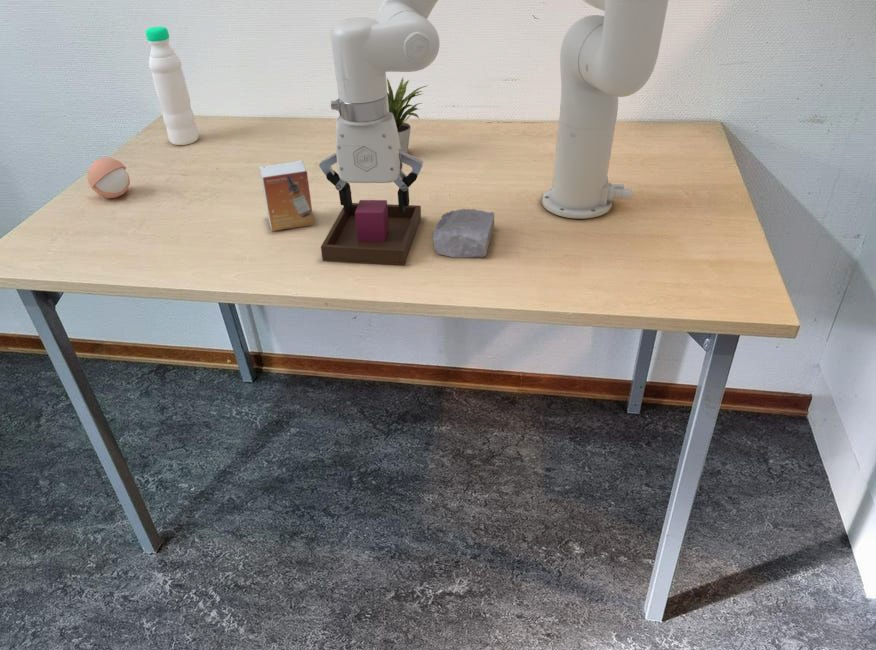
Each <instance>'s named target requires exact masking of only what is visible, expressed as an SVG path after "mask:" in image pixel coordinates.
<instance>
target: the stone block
mask: <svg viewBox="0 0 876 650" xmlns="http://www.w3.org/2000/svg"><path fill="white" fill-rule="evenodd" d="M494 226H495V212H494V211H491V212H490V211H484V210H480V209H475V208H473V209H471V208H461V209H457V210H450V211H449V212H445V213H444V214H442V215H441V219H439V220H438V222H437V223H436V225H435V227H434V230H433V232H432V238H433V239H432V240H433V247H434V249H435V251H436V252H437V253H438V255H442V256H446V257H449V258H453V259H454V258H469V259H470V258H471V259H472V258H481V259H482V258H485V257H486V256H487V254H488V251H489V246H490V242H491V239H492V235H493V230H494Z"/></svg>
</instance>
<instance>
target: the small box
mask: <svg viewBox="0 0 876 650" xmlns="http://www.w3.org/2000/svg"><path fill="white" fill-rule="evenodd" d="M258 169H259V174H260V180H261V186H262V192H263V197H264V203H265V209H266V214H267V220H268V222H269V227H270V230H271V232H276V231H279V230H286V229H295V228H300V227H310V226H314V224H315V222H314V212H313V207H312V206H313V205H312V199H311V191H310V185H309V178H308V171H307V169H306V166H305V164H304V162H303V160H302V159H300V160H295V161H290V162H284V163H283V162H282V163H275V164H270V165H260V166H259V167H258Z"/></svg>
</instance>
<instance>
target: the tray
mask: <svg viewBox="0 0 876 650" xmlns="http://www.w3.org/2000/svg"><path fill="white" fill-rule="evenodd" d="M358 203H359V202H352V206H351V208H350V210H349V211H348V212H344V207H343V206H342V208H341V210H340V212H339V213H338V215H337V217H336V219H335V220H334V223H333V224H332V226H331V227H330V230H329V231H328V233H327V234H326V237H325V239H324V240H323V242H322V244H321V245H320V251H321V258H322V262H332V263H333V262H334V263H349V264H352V263H353V264H367V265H370V264H371V265H387V266H402V267H403V266H406V263H407V259H408V257H409V254H410V252H411V249H412V246H413V243H414V241H415V237H416V235H417V232H418V229H419V227H420V223H421V221H422V207H421V206H422V205H418V204H417V205H415V204H412V205H411V204H409V206H406V209H405V211H404V213H400V212H399V204H389V203H387V209H388V224H389V230H388V234H387V237H386V241H385V242H358V237H357V227H356V217H355V211H356V209H357V206H358Z"/></svg>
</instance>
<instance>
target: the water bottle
mask: <svg viewBox="0 0 876 650" xmlns="http://www.w3.org/2000/svg"><path fill="white" fill-rule="evenodd" d="M145 37H146V40H147V42H148V43H149V44H150V51H149V58H148V68H149V70H150V72H151V77H152V81H153V86H154V90H155V93H156V94H155V95H156V97H157V100H158V103H159V104H158V105H159V106H160V109H161V113H162V119H163V123H164V125H165V127H166V134H167V138H168V141H169V143H170V144H172V145H175V146H186V145H190V144H193V143H195V142H197V141H198V139H199V137H200V135H199V130H198V127H197V125H196V121H195V115H194V111H193V109H192V104H191V99H190V95H189V90H188V86H187V82H186V78H185V75H184V72H183V69H182V61H181V59H180V56H178V55H177V53H176V52H175V50H174V49H173V47H171V45H170V33H169V30H168V29H167V27H165V26H151V27H148V28H147V29H146V30H145Z"/></svg>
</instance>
